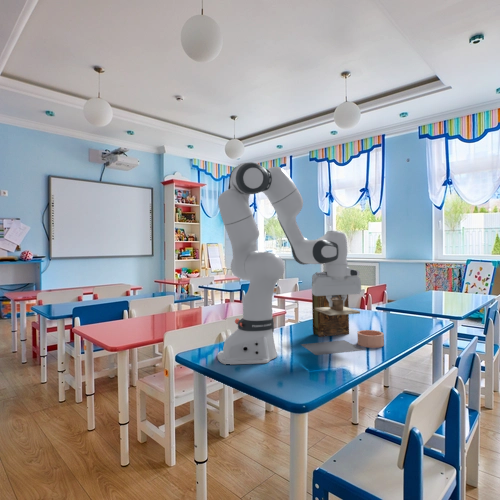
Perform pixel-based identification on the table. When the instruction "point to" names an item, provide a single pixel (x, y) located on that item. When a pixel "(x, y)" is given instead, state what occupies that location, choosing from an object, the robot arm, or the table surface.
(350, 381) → the table surface
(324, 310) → the board
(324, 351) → the mat
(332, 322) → the book
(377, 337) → the bowl
